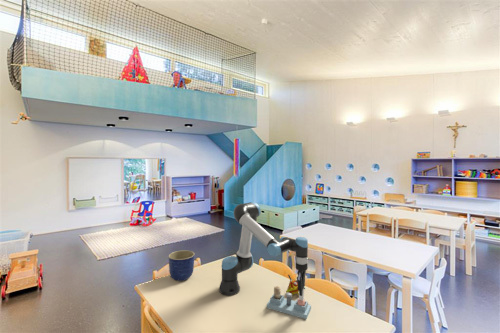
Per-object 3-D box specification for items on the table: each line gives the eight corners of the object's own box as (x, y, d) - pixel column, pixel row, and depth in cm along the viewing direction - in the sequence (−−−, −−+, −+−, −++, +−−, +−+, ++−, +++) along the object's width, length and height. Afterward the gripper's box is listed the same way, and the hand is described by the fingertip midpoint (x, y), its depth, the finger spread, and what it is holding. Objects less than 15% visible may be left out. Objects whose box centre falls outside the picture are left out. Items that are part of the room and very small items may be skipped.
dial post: (285, 305, 160) (285, 294, 160) (287, 302, 163) (287, 292, 163) (290, 306, 158) (290, 296, 158) (292, 303, 161) (292, 293, 161)
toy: (302, 297, 170) (291, 276, 173) (289, 301, 174) (279, 281, 177) (306, 288, 182) (296, 269, 186) (294, 292, 186) (285, 273, 189)
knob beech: (272, 299, 163) (273, 288, 163) (275, 296, 167) (275, 285, 167) (279, 301, 161) (279, 290, 161) (281, 297, 165) (281, 287, 165)
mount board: (266, 307, 161) (266, 299, 161) (273, 298, 172) (273, 291, 172) (306, 319, 149) (306, 310, 149) (311, 309, 160) (311, 300, 160)
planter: (162, 279, 199) (162, 255, 198) (182, 270, 216) (182, 248, 216) (180, 286, 188) (180, 261, 188) (199, 276, 205) (199, 253, 205)
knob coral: (296, 311, 156) (296, 300, 156) (298, 308, 160) (298, 297, 160) (303, 313, 154) (303, 302, 154) (305, 310, 158) (305, 299, 158)
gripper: (304, 267, 149) (304, 306, 149) (309, 260, 161) (309, 296, 161) (292, 265, 152) (292, 303, 153) (298, 258, 164) (298, 293, 164)
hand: (301, 299), depth 157 cm, fingers closed
